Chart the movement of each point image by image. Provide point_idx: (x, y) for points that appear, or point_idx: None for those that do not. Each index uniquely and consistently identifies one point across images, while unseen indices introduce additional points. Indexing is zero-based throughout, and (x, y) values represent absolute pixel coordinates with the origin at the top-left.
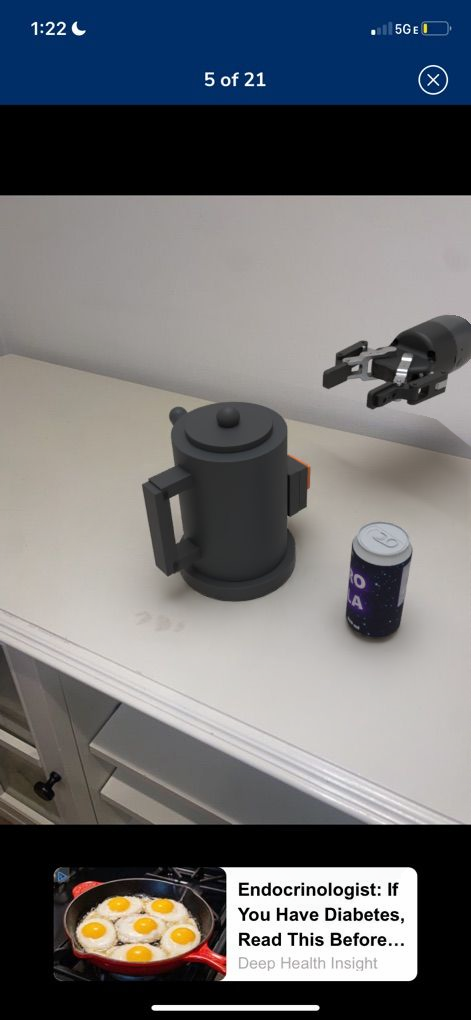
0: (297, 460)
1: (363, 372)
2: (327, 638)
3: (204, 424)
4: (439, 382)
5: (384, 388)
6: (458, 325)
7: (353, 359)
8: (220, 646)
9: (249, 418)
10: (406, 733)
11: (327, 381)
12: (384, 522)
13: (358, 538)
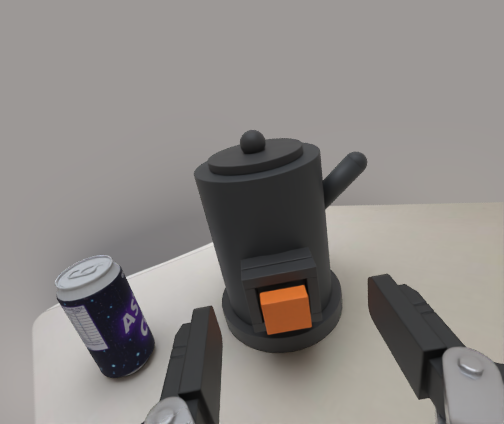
0: (286, 298)
1: None
2: (157, 321)
3: (267, 143)
4: None
5: (186, 349)
6: None
7: (472, 394)
8: (213, 268)
9: (246, 157)
10: None
11: (370, 295)
12: (90, 280)
13: (107, 256)
